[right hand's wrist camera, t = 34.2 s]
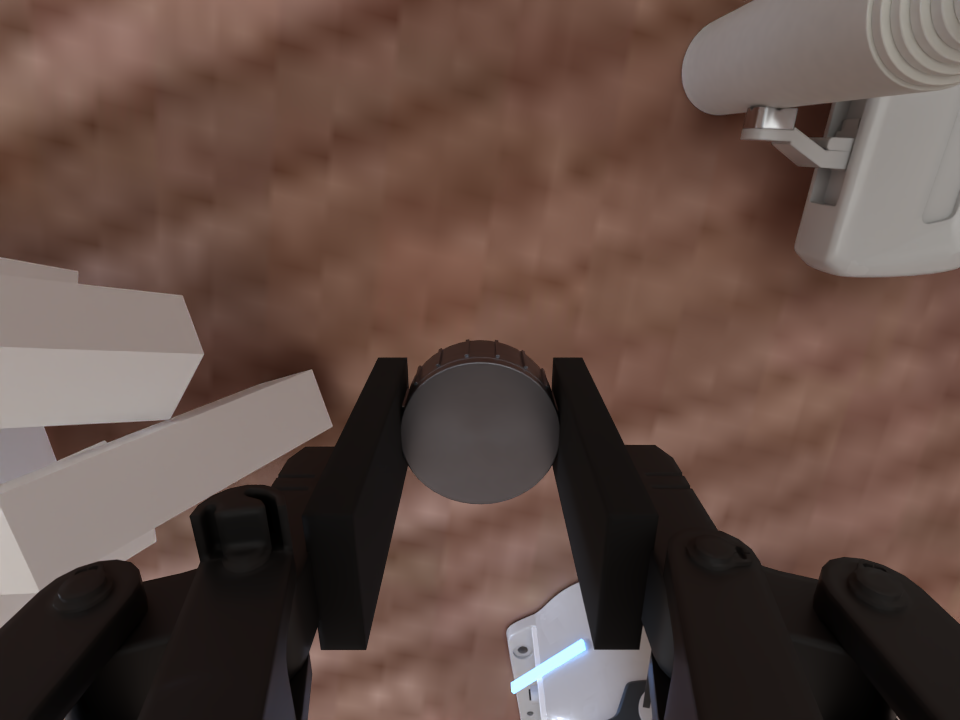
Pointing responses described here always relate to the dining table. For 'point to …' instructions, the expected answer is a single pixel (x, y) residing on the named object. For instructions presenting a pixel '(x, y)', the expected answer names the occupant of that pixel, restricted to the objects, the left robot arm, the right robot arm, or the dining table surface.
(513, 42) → the dining table surface
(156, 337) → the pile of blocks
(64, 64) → the dining table surface
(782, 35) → the bottle
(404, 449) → the cap
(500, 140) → the dining table surface
